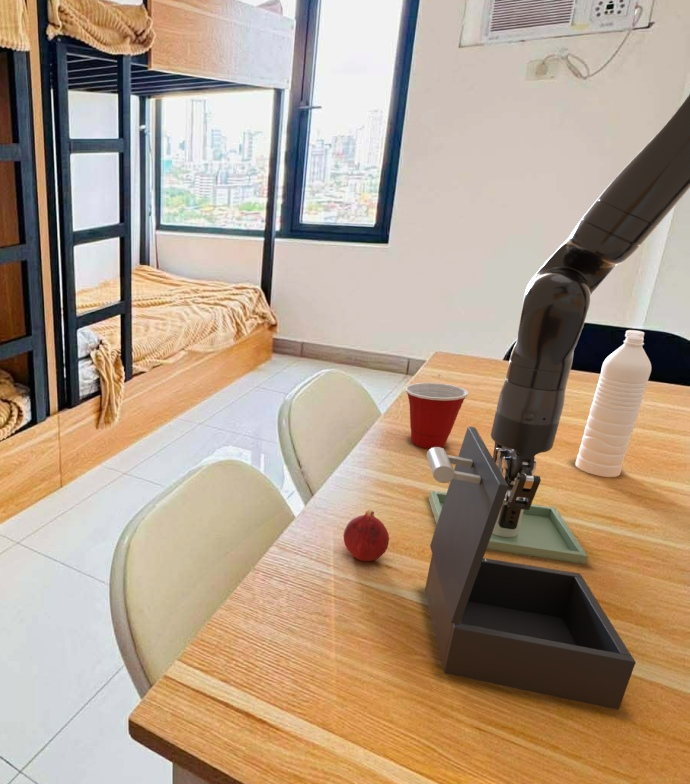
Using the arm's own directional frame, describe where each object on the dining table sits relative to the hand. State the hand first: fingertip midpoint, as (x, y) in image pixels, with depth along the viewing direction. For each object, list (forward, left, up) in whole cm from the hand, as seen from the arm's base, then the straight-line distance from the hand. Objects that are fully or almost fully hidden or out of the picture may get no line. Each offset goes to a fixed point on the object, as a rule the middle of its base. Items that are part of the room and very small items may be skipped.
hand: (502, 517), depth 94 cm
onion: (+20, +14, -3) cm, 24 cm away
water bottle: (-22, -29, -3) cm, 37 cm away
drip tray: (0, 0, -3) cm, 3 cm away
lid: (+12, +27, +13) cm, 32 cm away
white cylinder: (0, 0, -2) cm, 2 cm away
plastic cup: (+6, -31, -3) cm, 32 cm away
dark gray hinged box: (+5, +27, -3) cm, 28 cm away
